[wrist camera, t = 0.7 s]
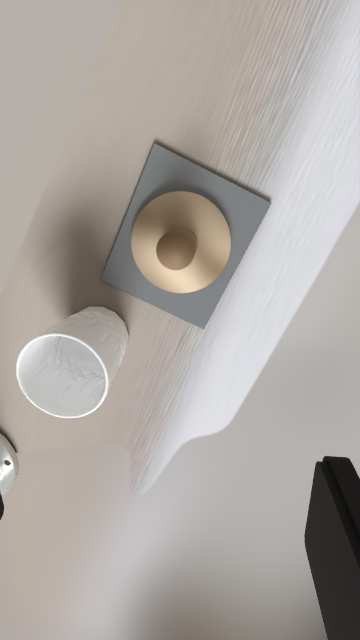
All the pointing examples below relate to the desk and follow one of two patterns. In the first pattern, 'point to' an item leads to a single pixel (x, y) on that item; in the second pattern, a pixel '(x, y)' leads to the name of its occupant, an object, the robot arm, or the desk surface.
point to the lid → (181, 242)
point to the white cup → (73, 362)
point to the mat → (230, 199)
